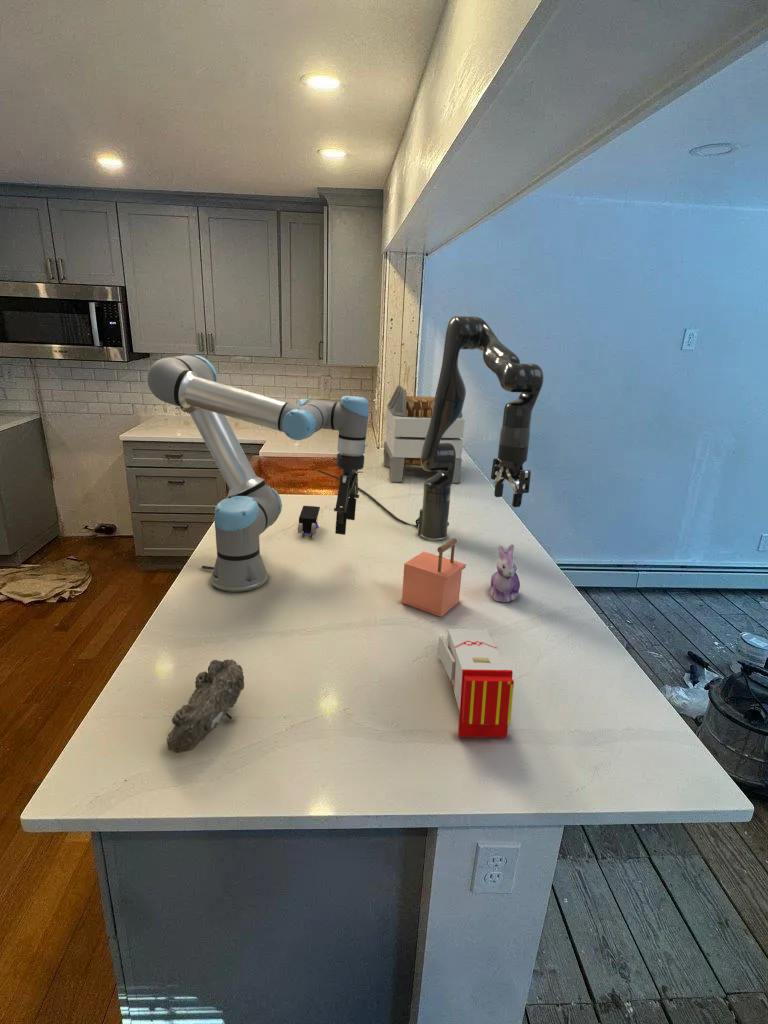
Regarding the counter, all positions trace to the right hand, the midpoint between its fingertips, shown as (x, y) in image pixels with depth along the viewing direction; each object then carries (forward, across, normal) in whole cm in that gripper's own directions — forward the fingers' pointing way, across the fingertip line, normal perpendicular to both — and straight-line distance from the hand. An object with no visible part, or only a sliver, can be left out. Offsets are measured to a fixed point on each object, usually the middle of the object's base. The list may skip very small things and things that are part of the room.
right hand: (506, 501), depth 153 cm
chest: (+27, 0, -21) cm, 34 cm away
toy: (+27, +37, -30) cm, 55 cm away
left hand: (+12, -23, -38) cm, 46 cm away
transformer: (+27, -117, +32) cm, 124 cm away
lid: (+16, 0, -21) cm, 26 cm away
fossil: (+27, +27, -81) cm, 90 cm away
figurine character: (+27, -58, -39) cm, 75 cm away
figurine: (+27, +3, +1) cm, 27 cm away
